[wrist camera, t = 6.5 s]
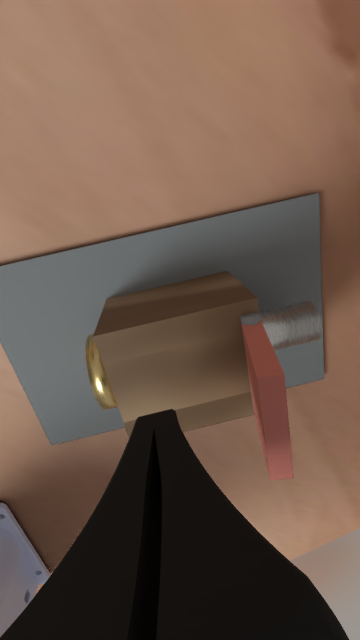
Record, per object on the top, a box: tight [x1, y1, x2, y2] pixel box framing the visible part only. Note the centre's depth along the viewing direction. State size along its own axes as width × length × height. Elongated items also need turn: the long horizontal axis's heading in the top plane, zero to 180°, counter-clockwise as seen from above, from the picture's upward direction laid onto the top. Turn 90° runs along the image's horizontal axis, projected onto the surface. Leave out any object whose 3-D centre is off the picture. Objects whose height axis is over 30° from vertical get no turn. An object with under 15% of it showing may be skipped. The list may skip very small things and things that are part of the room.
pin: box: [85, 300, 322, 410], centre depth 16 cm, size 4×12×4 cm, turn 102°
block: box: [93, 271, 259, 438], centre depth 16 cm, size 6×7×5 cm
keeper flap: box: [240, 312, 293, 480], centre depth 12 cm, size 5×4×1 cm
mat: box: [0, 193, 324, 445], centre depth 19 cm, size 12×19×1 cm, turn 102°
